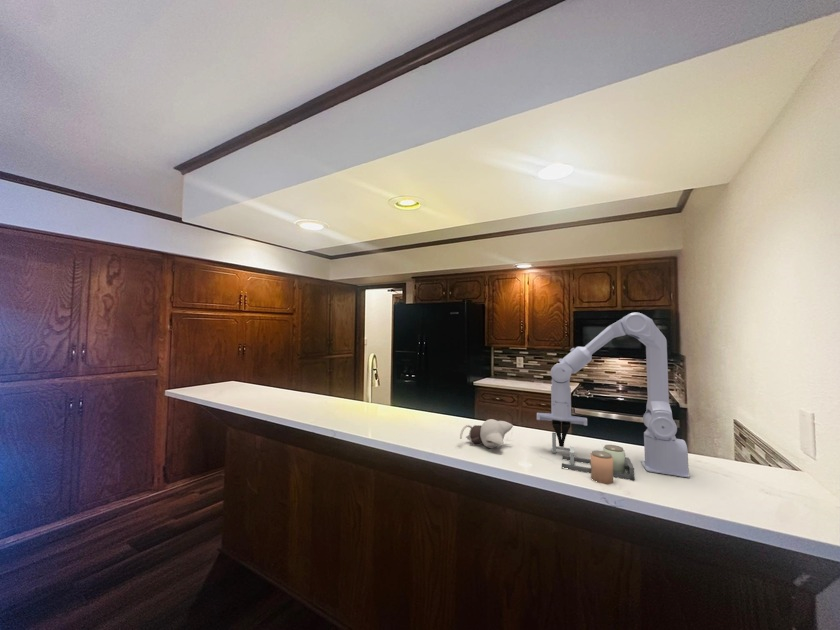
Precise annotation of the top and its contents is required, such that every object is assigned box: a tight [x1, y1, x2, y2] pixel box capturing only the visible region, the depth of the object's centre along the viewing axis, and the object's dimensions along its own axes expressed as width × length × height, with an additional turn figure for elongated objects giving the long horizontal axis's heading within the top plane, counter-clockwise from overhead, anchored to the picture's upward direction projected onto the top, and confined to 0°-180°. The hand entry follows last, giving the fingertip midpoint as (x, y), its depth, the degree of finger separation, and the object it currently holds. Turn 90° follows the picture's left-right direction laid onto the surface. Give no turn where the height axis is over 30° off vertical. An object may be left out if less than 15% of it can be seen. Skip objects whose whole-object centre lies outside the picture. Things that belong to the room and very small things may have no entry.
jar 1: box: [590, 450, 614, 485], centre depth 83 cm, size 5×5×6 cm
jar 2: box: [602, 444, 626, 474], centre depth 89 cm, size 5×5×6 cm
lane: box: [561, 454, 636, 481], centre depth 90 cm, size 17×8×3 cm, turn 65°
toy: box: [459, 418, 514, 450], centre depth 108 cm, size 13×9×15 cm
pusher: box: [551, 432, 575, 465], centre depth 97 cm, size 6×12×6 cm, turn 155°
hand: (561, 445), depth 102 cm, fingers closed
